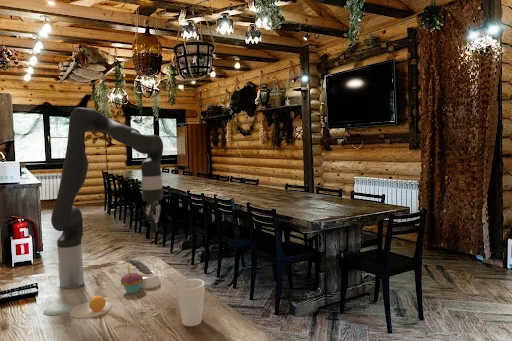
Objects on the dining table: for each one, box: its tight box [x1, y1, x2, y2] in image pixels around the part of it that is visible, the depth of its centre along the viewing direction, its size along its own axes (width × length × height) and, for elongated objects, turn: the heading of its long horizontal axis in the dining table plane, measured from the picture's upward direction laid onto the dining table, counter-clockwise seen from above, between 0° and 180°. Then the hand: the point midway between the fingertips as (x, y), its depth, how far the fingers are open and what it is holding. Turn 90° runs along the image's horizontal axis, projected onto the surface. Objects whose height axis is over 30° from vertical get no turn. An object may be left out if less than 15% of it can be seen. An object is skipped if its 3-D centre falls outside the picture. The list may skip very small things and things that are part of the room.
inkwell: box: [124, 258, 161, 290], centre depth 176 cm, size 9×18×10 cm, turn 64°
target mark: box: [69, 301, 112, 319], centre depth 151 cm, size 14×14×1 cm
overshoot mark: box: [43, 302, 75, 317], centre depth 152 cm, size 10×10×1 cm
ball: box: [88, 295, 107, 312], centre depth 149 cm, size 6×6×6 cm
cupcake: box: [120, 264, 143, 294], centre depth 167 cm, size 9×8×12 cm
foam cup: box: [175, 278, 206, 327], centre depth 138 cm, size 10×9×13 cm
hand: (154, 232), depth 160 cm, fingers closed
